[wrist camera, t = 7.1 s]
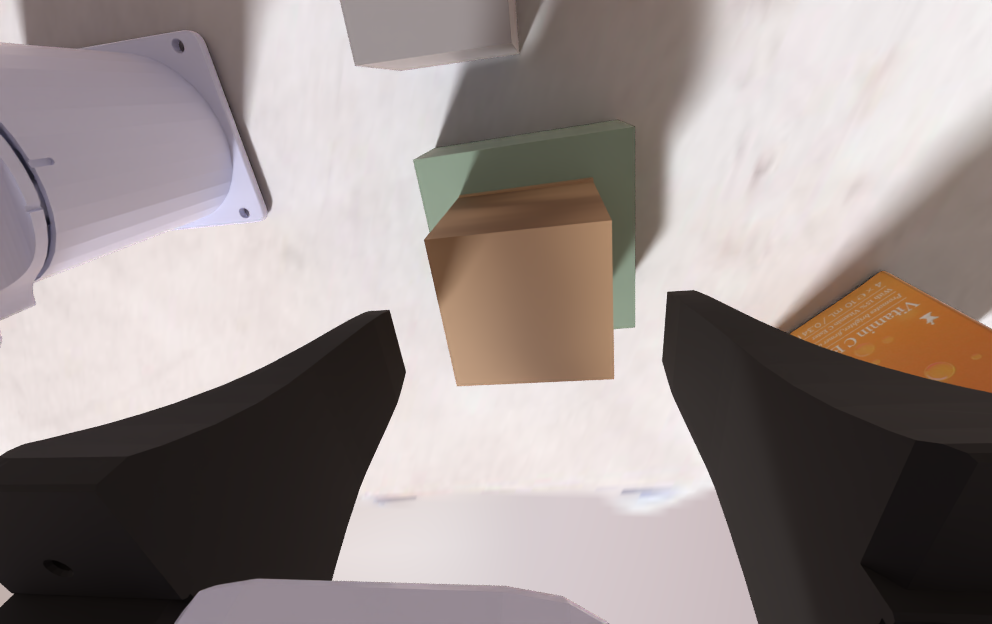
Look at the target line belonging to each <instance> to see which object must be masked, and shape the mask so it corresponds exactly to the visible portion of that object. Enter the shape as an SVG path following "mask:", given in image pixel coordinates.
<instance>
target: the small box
mask: <svg viewBox="0 0 992 624" xmlns="http://www.w3.org/2000/svg"><path fill="white" fill-rule="evenodd" d="M790 334H791V335H793V336H795V337H798V338H800V339H802V340H805V341H808V342H810V343H813V344H815V345H818V346H821V347H824V348H827V349H829V350H832V351H835V352H838V353H841V354H844V355H847V356H850V357H853V358H856V359H859V360H862V361H866V362H869V363H872V364H876V365H879V366H882V367H886V368H890V369H894V370H897V371H901V372H905V373H908V374H912V375H916V376H920V377H923V378H927V379H931V380H936V381H940V382H944V383H949V384H953V385H957V386H961V387H966V388H971V389H976V390H981V391H986V392H990V393H992V329H991V328H989V327H988V326H986V325H984V324H982V323H980V322H979V321H977V320H975V319H973V318H971V317H969V316H968V315H966V314H964V313H962V312H960V311H959V310H957V309H955V308H953V307H951V306H949V305H947V304H946V303H944V302H942V301H940V300H938V299H936V298H934V297H932V296H930V295H928V294H927V293H925V292H923V291H921V290H919V289H918V288H916V287H914V286H912V285H911V284H909V283H907V282H905V281H903V280H901V279H900V278H898V277H896V276H894V275H892V274H890V273H888V272H886V271H881V272H879V273H878V274H876V275H875V276H873V277H872V278H871V279H869V280H868V281H867V282H865V283H864V284H863V285H861V286H860V287H858V288H857V289H856V290H854V291H853V292H851V293H850V294H848V295H847V296H845V297H844V298H842V299H841V300H839V301H838V302H836V303H835V304H833V305H832V306H830V307H829V308H827V309H826V310H824V311H823V312H821V313H820V314H818V315H817V316H815V317H814V318H812V319H811V320H809V321H808V322H807V323H805V324H804V325H802V326H801V327H799V328H797V329H796V330H794V331H793V332H791V333H790Z"/></svg>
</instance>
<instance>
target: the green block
mask: <svg viewBox="0 0 992 624" xmlns="http://www.w3.org/2000/svg"><path fill="white" fill-rule="evenodd" d="M413 161H414V166H415V170H416V175H417V179H418V183H419V188H420V192H421V197H422V201H423V205H424V210H425V214H426V218H427V223H428V227H429V232H431V231H432V230H433V228H434V227H435V226H436V225H437V223H438V222H439V221H440V220H441V218H442V217H443V216H444V215H445V214H446V212H447V211H448V210H449V209H450V207H451V206H452V205H453V204H454V203H455V201H456V200H457V199H458V198H462V197H470V196H478V195H487V194H495V193H504V192H512V191H520V190H529V189H537V188H545V187H554V186H562V185H570V184H579V183H587V182H594V184H595V186H596V188H597V190H598V192H599V195H600V197H601V199H602V201H603V203H604V205H605V207H606V209H607V211H608V213H609V215H610V217H611V220H612V267H613V329H621V328H633V327H635V126H632V125H630V124H627V123H625V122H622V121H620V120H613V121H606V122H600V123H593V124H587V125H580V126H574V127H567V128H561V129H554V130H548V131H541V132H535V133H528V134H522V135H515V136H509V137H502V138H496V139H489V140H483V141H476V142H470V143H463V144H457V145H450V146H444V147H437V148H434V149H432V150H430V151H429V152H427V153H425V154H423V155H421V156H420V157H418V158H416V159H414V160H413Z"/></svg>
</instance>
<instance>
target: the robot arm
mask: <svg viewBox="0 0 992 624" xmlns="http://www.w3.org/2000/svg"><path fill="white" fill-rule="evenodd" d="M180 41H182V43H183V45H184V52H182V51H181V49H180V47H179V42H180ZM244 208H246V209H247V210H248V211H249V215H250V216H248V215H247V214H246V213H245V212H244ZM267 214H268V212H267V208H266V205H265V203H264V200H263V197H262V195H261V192H260V189H259V187H258V184H257V181H256V178H255V176H254V173H253V170H252V168H251V165H250V162H249V159H248V157H247V154H246V151H245V149H244V146H243V143H242V141H241V138H240V135H239V132H238V130H237V127H236V124H235V122H234V119H233V116H232V113H231V111H230V108H229V105H228V103H227V100H226V97H225V95H224V92H223V89H222V86H221V84H220V81H219V78H218V76H217V73H216V70H215V68H214V65H213V62H212V59H211V57H210V54H209V51H208V49H207V46H206V43H205V41H204V39H203V38H202V37H201V36H200V35H199V34H198V33H196V32H195V31H190V30H181V31H175V32H169V33H164V34H158V35H152V36H146V37H141V38H135V39H129V40H123V41H118V42H112V43H106V44H101V45H95V46H89V47H83V48H78V49H72V48H60V47H48V46H36V45H24V44H12V43H0V320H2V319H5V318H7V317H9V316H12V315H14V314H16V313H19V312H21V311H23V310H26V309H28V308H30V307H33V306H35V305H36V302H35V298H34V295H33V283H35V282H38V281H40V280H43V279H45V278H48V277H51V276H53V275H56V274H58V273H61V272H64V271H66V270H69V269H71V268H74V267H77V266H79V265H82V264H84V263H87V262H90V261H92V260H95V259H97V258H100V257H103V256H105V255H108V254H110V253H113V252H116V251H118V250H121V249H123V248H126V247H129V246H131V245H134V244H136V243H139V242H142V241H144V240H147V239H149V238H152V237H155V236H157V235H160V234H162V233H165V232H168V231H171V230H181V229H191V228H201V227H211V226H221V225H231V224H241V223H251V222H259V221H262V220H264V219H265V218H266V217H267ZM1 343H2V336H1V331H0V346H1ZM662 362H663V365H664V369H665V372H666V376H667V379H668V383H669V386H670V389H671V392H672V395H673V397H674V399H675V402H676V404H677V406H678V408H679V410H680V412H681V415H682V417H683V419H684V421H685V423H686V425H687V427H688V429H689V432H690V434H691V436H692V438H693V440H694V442H695V444H696V446H697V449H698V451H699V453H700V455H701V457H702V459H703V461H704V463H705V465H706V468H707V470H708V472H709V475H710V477H711V479H712V482H713V484H714V487H715V489H716V492H717V495H718V498H719V501H720V504H721V507H722V509H723V513H724V515H725V518H726V521H727V524H728V527H729V530H730V533H731V536H732V540H733V542H734V546H735V549H736V552H737V555H738V558H739V561H740V565H741V568H742V571H743V574H744V577H745V581H746V584H747V587H748V591H749V594H750V597H751V601H752V604H753V607H754V610H755V614H756V617H757V621H758V624H992V393H990V392H986V391H981V390H976V389H971V388H966V387H961V386H957V385H953V384H949V383H944V382H940V381H936V380H931V379H927V378H923V377H920V376H916V375H912V374H908V373H905V372H901V371H897V370H894V369H890V368H886V367H882V366H879V365H876V364H872V363H869V362H866V361H862V360H859V359H856V358H853V357H850V356H847V355H844V354H841V353H838V352H835V351H832V350H829V349H827V348H824V347H821V346H818V345H815V344H813V343H810V342H808V341H805V340H802V339H800V338H798V337H795V336H793V335H791V334H788V333H786V332H783V331H781V330H779V329H776V328H774V327H772V326H770V325H767V324H765V323H763V322H761V321H759V320H757V319H754V318H752V317H750V316H748V315H746V314H744V313H742V312H740V311H738V310H736V309H734V308H732V307H730V306H728V305H726V304H724V303H722V302H720V301H718V300H716V299H714V298H711V297H709V296H707V295H705V294H703V293H700V292H697V291H694V290H690V291H674V292H667V304H666V317H665V331H664V344H663V358H662ZM405 374H406V370H405V367H404V363H403V359H402V355H401V352H400V348H399V344H398V340H397V337H396V333H395V329H394V325H393V321H392V318H391V314H390V310H381V311H368V312H365V313H363V314H360V315H358V316H356V317H354V318H352V319H350V320H348V321H347V322H345V323H343V324H341V325H339V326H338V327H336V328H334V329H332V330H331V331H329V332H327V333H325V334H324V335H322V336H320V337H318V338H317V339H315V340H313V341H312V342H310V343H308V344H306V345H304V346H303V347H301V348H299V349H297V350H295V351H293V352H291V353H289V354H288V355H286V356H284V357H282V358H280V359H278V360H276V361H275V362H273V363H271V364H269V365H267V366H265V367H263V368H260V369H258V370H256V371H254V372H252V373H250V374H248V375H245V376H243V377H241V378H238V379H236V380H234V381H232V382H229V383H227V384H225V385H222V386H220V387H217V388H214V389H212V390H209V391H206V392H204V393H201V394H198V395H196V396H193V397H190V398H188V399H185V400H182V401H179V402H177V403H174V404H171V405H168V406H165V407H162V408H159V409H156V410H152V411H149V412H146V413H143V414H140V415H136V416H133V417H129V418H126V419H123V420H119V421H116V422H112V423H108V424H105V425H101V426H97V427H93V428H89V429H85V430H81V431H77V432H73V433H69V434H65V435H61V436H57V437H53V438H49V439H44V440H40V441H36V442H31V443H27V444H23V445H21V446H18V447H16V448H14V449H12V450H9V451H7V452H6V453H4V454H3V455H1V456H0V583H1V584H2V585H3V586H4V587H6V588H7V589H8V590H9V591H10V592H11V593H15V594H14V595H13V596H12V597H10V599H9V600H8V601H6V602H5V603H4V604H3V605H2V606H1V607H0V624H609V623H608V622H606V621H605V620H603V619H602V618H600V617H598V616H596V615H595V614H593V613H591V612H589V611H588V610H586V609H584V608H582V607H581V606H579V605H577V604H576V603H574V602H572V601H570V600H569V599H567V598H565V597H563V596H558V595H552V594H547V593H541V592H536V591H531V590H525V589H519V588H514V587H509V586H490V585H455V584H422V583H420V584H419V583H388V582H354V581H332V578H333V574H334V570H335V567H336V563H337V560H338V556H339V553H340V550H341V546H342V543H343V539H344V536H345V533H346V529H347V526H348V522H349V519H350V516H351V513H352V511H353V507H354V504H355V501H356V498H357V495H358V492H359V489H360V487H361V484H362V482H363V479H364V477H365V474H366V472H367V469H368V467H369V465H370V463H371V461H372V458H373V456H374V454H375V452H376V450H377V448H378V445H379V443H380V441H381V439H382V437H383V434H384V432H385V430H386V428H387V426H388V423H389V421H390V419H391V417H392V414H393V412H394V410H395V407H396V405H397V403H398V399H399V396H400V393H401V389H402V385H403V381H404V378H405Z"/></svg>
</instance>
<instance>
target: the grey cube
mask: <svg viewBox="0 0 992 624" xmlns="http://www.w3.org/2000/svg"><path fill="white" fill-rule="evenodd" d="M340 3H341V7H342V12H343V16H344V20H345V24H346V29H347V33H348V37H349V42H350V46H351V50H352V54H353V59H354V63H355V66H362V67H371V68H380V69H389V70H398V71H403V70H410V69H417V68H424V67H431V66H438V65H446V64H453V63H460V62H467V61H474V60H481V59H488V58H495V57H502V56H509V55H516V54H520V52H519V39H518V26H517V13H516V0H340Z"/></svg>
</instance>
